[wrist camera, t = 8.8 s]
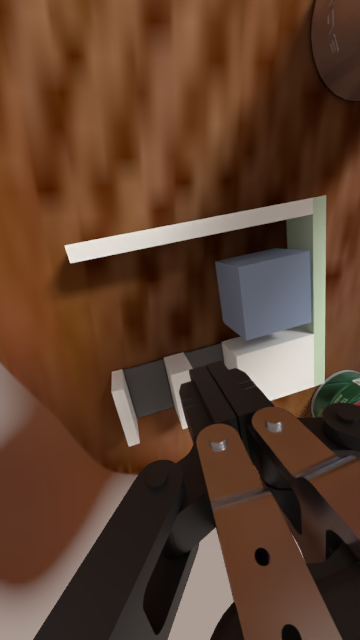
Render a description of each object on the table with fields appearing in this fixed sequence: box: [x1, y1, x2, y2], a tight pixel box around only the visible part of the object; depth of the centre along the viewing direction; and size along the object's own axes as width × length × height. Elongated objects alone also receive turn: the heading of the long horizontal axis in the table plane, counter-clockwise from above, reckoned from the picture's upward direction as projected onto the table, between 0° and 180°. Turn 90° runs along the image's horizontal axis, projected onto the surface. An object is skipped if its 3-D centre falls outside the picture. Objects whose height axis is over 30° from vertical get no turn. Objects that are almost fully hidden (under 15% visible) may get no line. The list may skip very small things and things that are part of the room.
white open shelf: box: [65, 195, 326, 447], centre depth 24 cm, size 20×18×4 cm
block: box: [215, 248, 311, 341], centre depth 23 cm, size 6×6×5 cm
